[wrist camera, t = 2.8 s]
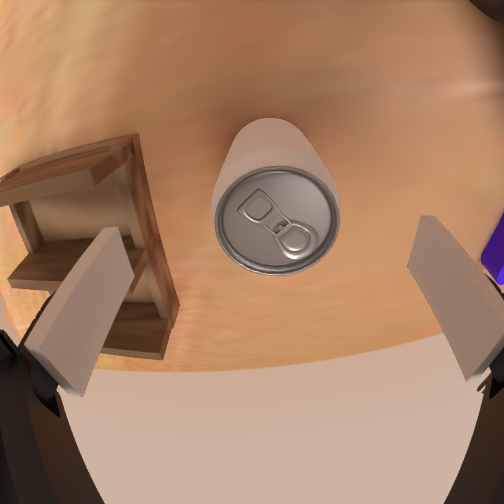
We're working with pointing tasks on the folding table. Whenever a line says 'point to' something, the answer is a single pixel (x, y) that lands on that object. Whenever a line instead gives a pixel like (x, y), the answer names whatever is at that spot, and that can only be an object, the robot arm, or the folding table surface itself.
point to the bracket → (495, 254)
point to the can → (275, 200)
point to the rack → (95, 234)
